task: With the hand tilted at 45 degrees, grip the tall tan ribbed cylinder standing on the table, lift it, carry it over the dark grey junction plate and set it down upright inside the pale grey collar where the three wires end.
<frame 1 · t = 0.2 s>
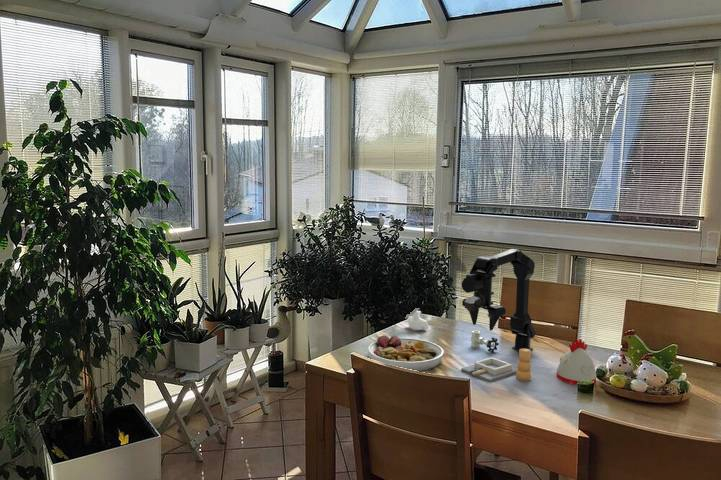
hand: (482, 327, 238), 14 cm above the table, tool pointing down, fingers open, 9 cm apart
duck figurine: (416, 330, 283), on the table
tan ribbed cylinder: (523, 378, 223), on the table
junction plate: (492, 370, 230), on the table
bowl: (405, 361, 240), on the table
kitchen timer: (576, 378, 224), on the table
valve: (482, 349, 257), on the table
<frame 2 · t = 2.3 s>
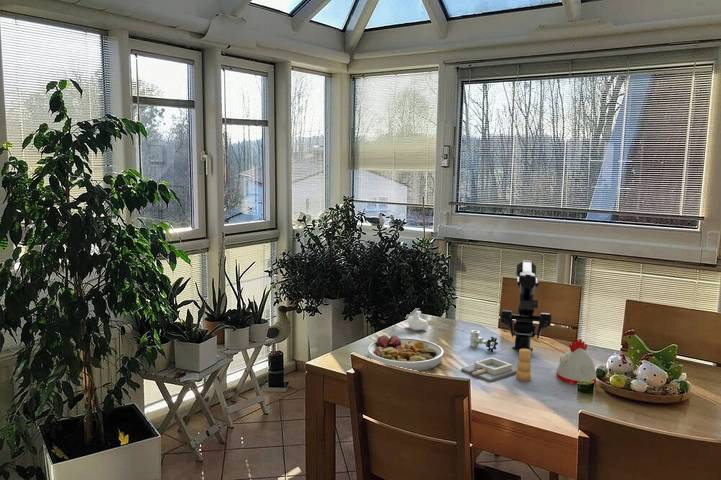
hand: (525, 337, 229), 13 cm above the table, tool tilted 45°, fingers open, 9 cm apart
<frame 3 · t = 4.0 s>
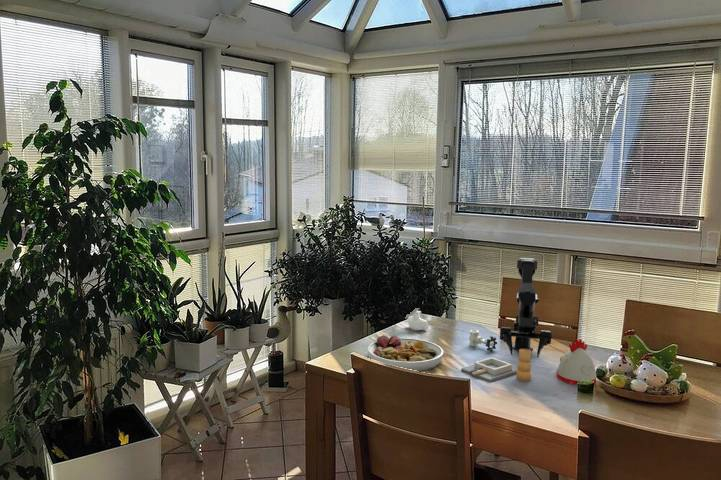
hand: (524, 355, 223), 9 cm above the table, tool tilted 45°, fingers open, 9 cm apart
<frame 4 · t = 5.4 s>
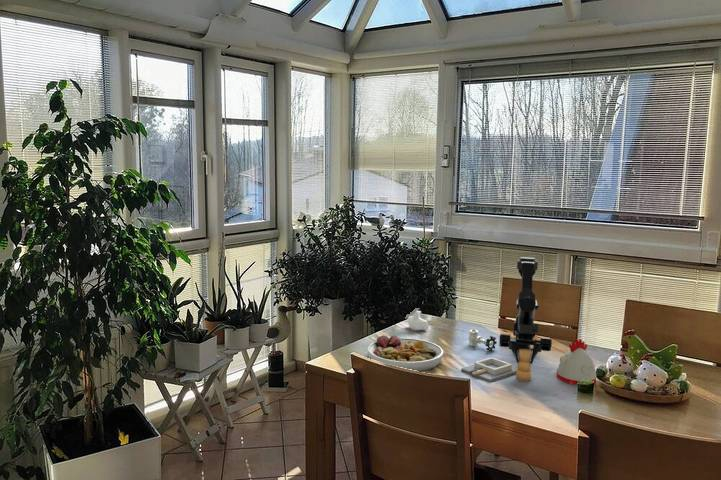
hand: (524, 362, 221), 7 cm above the table, tool tilted 45°, fingers closed on tan ribbed cylinder, 5 cm apart
tan ribbed cylinder: (523, 378, 223), on the table, touching gripper
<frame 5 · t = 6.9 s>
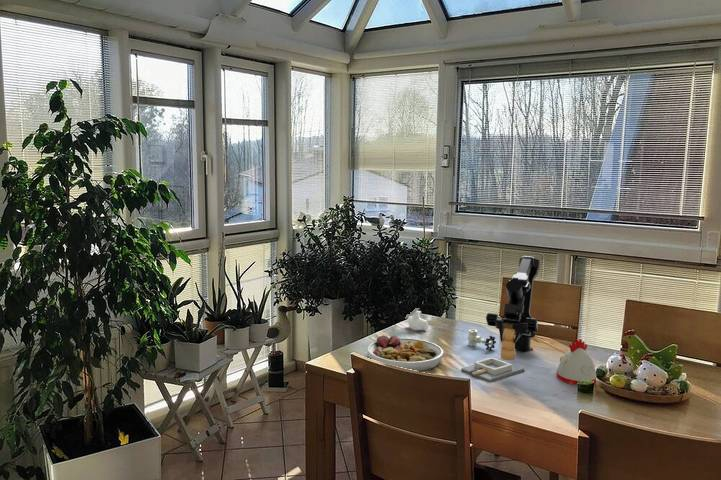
hand: (507, 341, 223), 13 cm above the table, tool tilted 45°, fingers closed on tan ribbed cylinder, 5 cm apart
tan ribbed cylinder: (507, 357, 226), point 7 cm above the table, touching gripper
when the fingers open (9 cm above the table, at t = 8.4 s): tan ribbed cylinder drops 1 cm, resting on junction plate.
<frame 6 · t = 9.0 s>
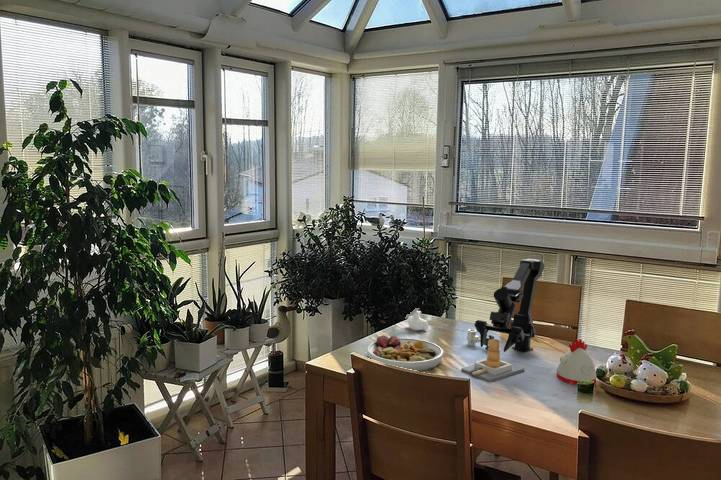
hand: (492, 349, 228), 9 cm above the table, tool tilted 45°, fingers open, 9 cm apart
tan ribbed cylinder: (492, 368, 230), point 1 cm above the table, touching junction plate
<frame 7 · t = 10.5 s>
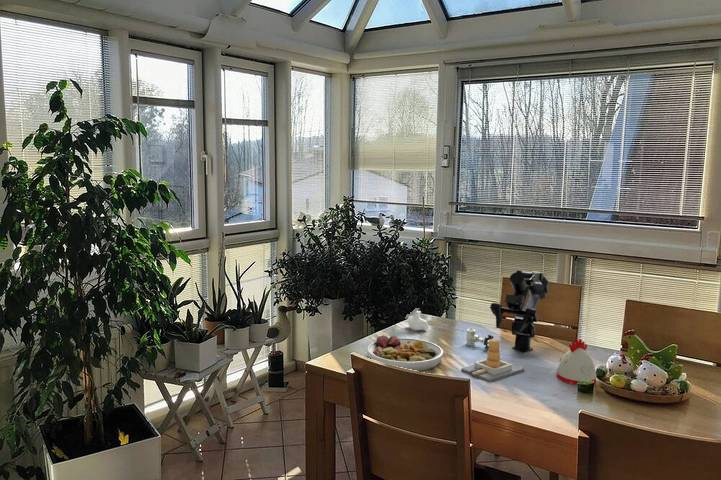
hand: (507, 329, 239), 13 cm above the table, tool tilted 45°, fingers open, 9 cm apart
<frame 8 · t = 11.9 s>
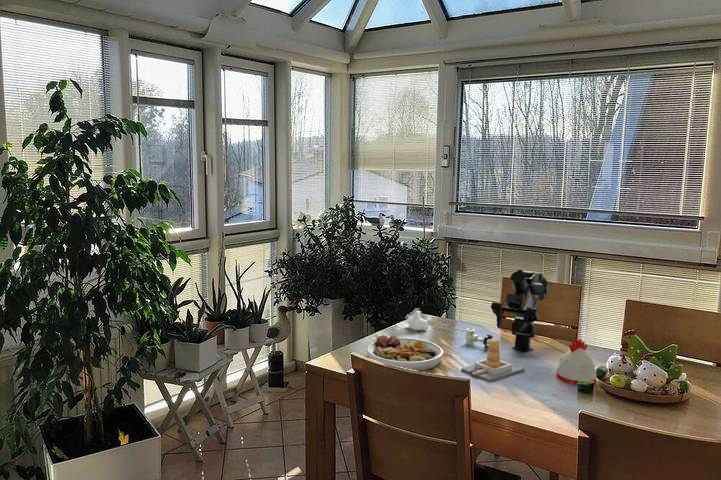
hand: (508, 329, 239), 14 cm above the table, tool tilted 45°, fingers open, 9 cm apart
at the end: tan ribbed cylinder 0.0 cm off-centre on the junction plate, point 1.0 cm above the junction plate's base; tan ribbed cylinder tilted 0°; the gripper is holding nothing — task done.
